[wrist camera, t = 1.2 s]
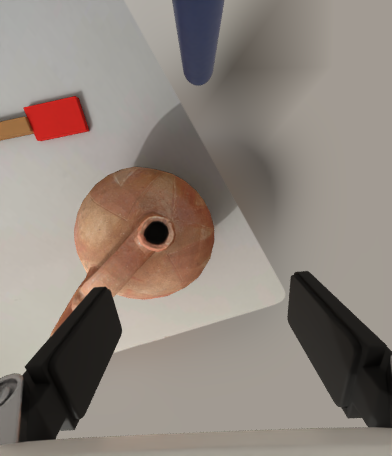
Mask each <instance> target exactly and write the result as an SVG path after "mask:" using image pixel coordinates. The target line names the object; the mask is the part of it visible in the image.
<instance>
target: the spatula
mask: <svg viewBox="0 0 392 456" xmlns="http://www.w3.org/2000/svg"><path fill="white" fill-rule="evenodd" d="M24 111H25V113H26V115H27V117H25V116H24V117H20V118H15V119H11V120H6V121H1V122H0V141H1V140H5V139H10V138H15V137H19V136H24V135H29V134H35V137H36V139H37V141H44V140H49V139H54V138H59V137H63V136H68V135H73V134H78V133H83V132H87V131H89V128H88V125H87V122H86V119H85V116H84V113H83V110H82V107H81V104H80V101H79V98H78V97H76V96H73V97H69V98H64V99H60V100H55V101H51V102H46V103H42V104H37V105H33V106H28V107H24Z"/></svg>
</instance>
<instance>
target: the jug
mask: <svg viewBox="0 0 392 456" xmlns="http://www.w3.org/2000/svg"><path fill="white" fill-rule="evenodd" d="M74 238H75V244H76V249H77V253H78V255H79V258H80V260H81V262H82V264H83V266H84V268H85V270H86V272H87V276H86V279H85V280H84V281H83V282H82V284H81V285H80V286H79V288H78V289H77V291H76V292H75V294H74V295H73V297H72V299H71V300H70V302H69V304H68V305H67V307H66V309H65V311H64V312H63V314H62V315H61V317H60V319H59V321H58V323H57V324H56V326H55V328H54V329H53V331H52V333H51V336H52V335H53V334H54V332H55V331H56V330H57V329H58V328H59V327H60V325H61V324H62V323H63V322H64V321H65V320H66V319H67V317H68V316H69V315H70V314H71V313H72V312H73V310H74V309H75V308H76V307H77V306H78V305H79V304H80V302H81V301H82V300H83V299H84V298H85V297H86V295H87V294H88V293H89V292H90V291H91V290H92V289H93V288H94V287H107V288H108V289H110V290H111V293H112V297H114V296H115V295H116V294H117V295H120V296H124V297H127V298H134V299H152V298H158V297H164V296H168V295H170V294H172V293H174V292H176V291H179V290H181V289H183V288H185V287H186V286H188V285H189V284H190V283H192V282H193V281H194V280H195V279H197V278H198V277H199V275H200V274H201V273H202V271H203V269H204V268H205V266H206V264H207V263H208V261H209V259H210V257H211V253H212V248H213V244H214V226H213V222H212V218H211V215H210V211H209V210H208V208H207V206H206V204H205V202H204V200H203V199H202V198H201V196H200V195H199V194H198V192H197V191H196V190H195V189H194V188H192V187H191V186H190V185H189V184H188V183H187V182H185V181H184V180H183V179H181V178H179V177H177V176H175V175H173V174H171V173H167V172H164V171H160V170H156V169H149V168H142V167H131V168H126V169H121V170H119V171H117V172H115V173H112V174H110V175H108V176H107V177H105V178H104V179H103V180H101V181H100V182H98V183H97V184H96V185H95V186H94V187H93V188H92V190H91V191H90V192H89V194H88V195H87V196H86V198H85V199H84V200H83V202H82V204H81V207H80V209H79V211H78V214H77V218H76V223H75V228H74ZM51 336H50V337H51Z"/></svg>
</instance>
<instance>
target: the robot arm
mask: <svg viewBox="0 0 392 456" xmlns="http://www.w3.org/2000/svg"><path fill="white" fill-rule="evenodd" d="M288 322H289V325H290V327H291V328H292V330H293V332H294V334H295V335H296V337H297V338H298V340H299V342H300V344H301V346H302V347H303V349H304V351H305V352H306V354H307V356H308V358H309V360H310V361H311V363H312V365H313V366H314V368H315V370H316V371H317V373H318V375H319V377H320V378H321V380H322V382H323V384H324V385H325V387H326V389H327V391H328V392H329V394H330V396H331V397H332V399H333V401H334V402H335V404H336V405H337V406H338V407H341V408H342V409H343V411H344V412H345V414H346V416H347V417H348V418H363V420H364V422H365V423H366V425H367V426H368V427H367V428H366V427H365V428H364V427H363V428H310V429H308V428H307V429H279V430H250V431H224V432H199V433H178V434H177V433H176V434H151V435H130V436H110V437H90V438H89V437H88V438H69V439H57V440H56V436H57V434H58V432H59V430H61V431H64V430H75V428H76V426H77V423H78V422H79V419H81V418H82V417H83V416H84V415H85V413H86V411H87V409H88V407H89V405H90V402H91V400H92V398H93V396H94V394H95V391H96V389H97V387H98V385H99V382H100V380H101V378H102V376H103V374H104V372H105V370H106V367H107V365H108V363H109V361H110V358H111V356H112V354H113V352H114V350H115V348H116V345H117V343H118V341H119V339H120V337H121V334H122V327H121V324H120V320H119V317H118V314H117V310H116V307H115V303H114V300H113V297H112V293H111V290H110V289H108V288H107V287H94V288H93V289H92V290H91V291H90V292H89V293H88V294H87V295H86V297H85V298H84V299H83V300H82V301H81V302H80V304H79V305H78V306H77V307H76V308H75V309H74V310H73V312H72V313H71V314H70V315H69V316H68V317H67V319H66V320H65V321H64V322H63V323H62V324H61V325H60V327H59V328H58V329H57V330H56V331H55V332H54V334H53V335H52V336H51V337H50V338H49V339H48V340H47V342H46V343H45V344H44V345H43V346H42V347H41V349H40V350H39V351H38V352H37V353H36V354H35V355H34V357H33V358H32V359H31V360H30V361H29V362H28V364H27V365H26V366H25V368H26V372H25V373H24V374H23V375H20V374H15V373H14V374H10V375H6V376H4V377H2V378H0V456H392V351H391V350H390V349H389V348H388V347H387V345H386V344H385V343H384V342H382V341H381V340H380V339H379V338H378V337H377V336H376V335H375V334H374V333H373V332H372V331H371V330H370V329H369V328H368V327H367V326H366V325H365V324H363V323H362V322H361V321H360V320H359V319H358V318H357V317H356V316H355V315H354V314H353V313H352V312H351V311H350V310H349V309H348V308H347V307H346V306H344V305H343V304H342V303H341V302H340V301H339V300H338V299H337V298H336V297H335V296H334V295H333V294H332V293H331V292H330V291H328V289H327V288H326V287H324V286H323V285H322V284H321V283H320V282H319V281H318V280H317V279H316V278H315V277H314V276H313V275H312V274H311V273H310V272H308V271H303V272H295V273H294V275H292V276H291V282H290V293H289V306H288Z"/></svg>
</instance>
